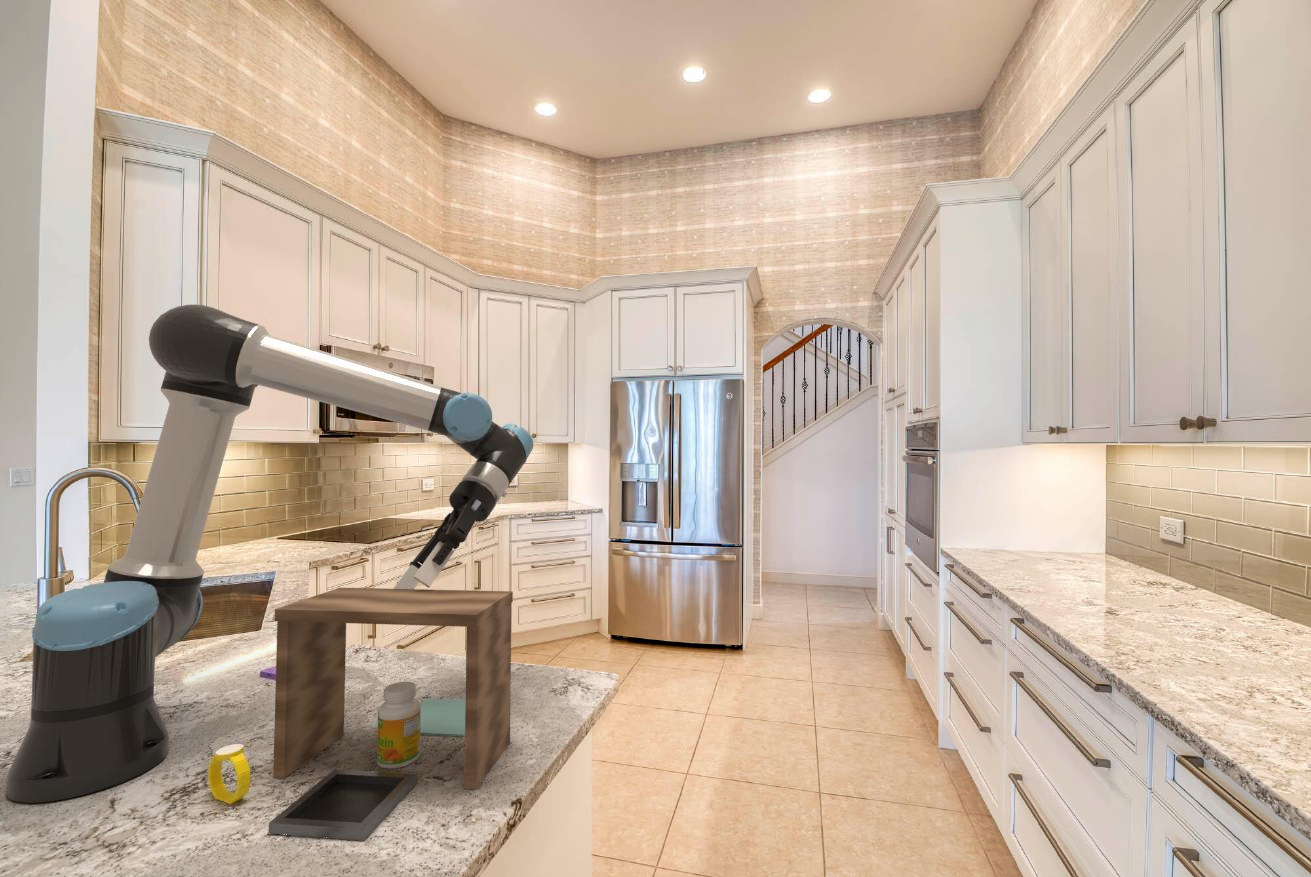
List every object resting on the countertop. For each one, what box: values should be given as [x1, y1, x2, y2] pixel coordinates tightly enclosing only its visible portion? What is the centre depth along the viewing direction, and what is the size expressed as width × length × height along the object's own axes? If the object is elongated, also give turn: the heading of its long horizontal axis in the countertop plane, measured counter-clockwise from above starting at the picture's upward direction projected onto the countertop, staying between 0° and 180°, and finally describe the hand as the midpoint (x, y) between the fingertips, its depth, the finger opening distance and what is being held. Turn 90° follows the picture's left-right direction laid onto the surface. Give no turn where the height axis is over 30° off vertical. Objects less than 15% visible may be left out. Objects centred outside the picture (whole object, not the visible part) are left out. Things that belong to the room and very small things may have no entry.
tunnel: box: [272, 587, 514, 791], centre depth 79 cm, size 13×27×22 cm, turn 84°
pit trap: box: [267, 769, 418, 842], centre depth 67 cm, size 11×11×1 cm
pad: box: [420, 697, 466, 738], centre depth 91 cm, size 12×12×1 cm
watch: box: [207, 743, 252, 805], centre depth 69 cm, size 6×3×6 cm, turn 67°
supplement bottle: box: [376, 681, 421, 769], centre depth 79 cm, size 5×5×10 cm
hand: (406, 592), depth 89 cm, fingers open, 13 cm apart
